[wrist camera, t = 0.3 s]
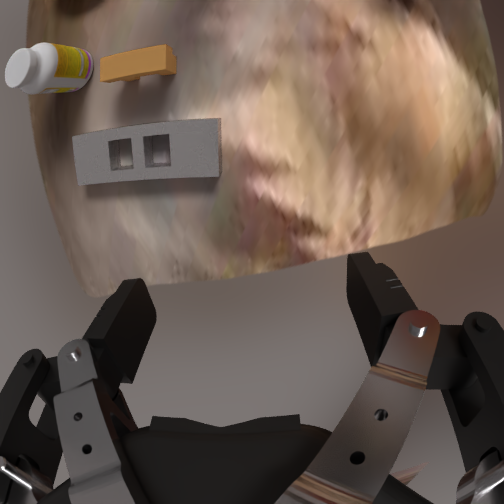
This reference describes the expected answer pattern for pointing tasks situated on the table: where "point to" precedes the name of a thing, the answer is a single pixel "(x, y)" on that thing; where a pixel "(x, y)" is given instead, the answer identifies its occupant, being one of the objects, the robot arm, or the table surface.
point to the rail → (150, 152)
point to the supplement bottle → (49, 69)
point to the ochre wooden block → (138, 64)
